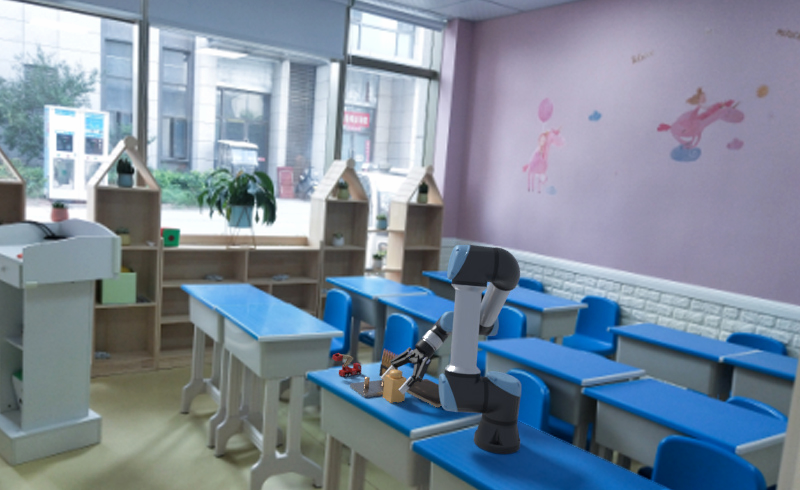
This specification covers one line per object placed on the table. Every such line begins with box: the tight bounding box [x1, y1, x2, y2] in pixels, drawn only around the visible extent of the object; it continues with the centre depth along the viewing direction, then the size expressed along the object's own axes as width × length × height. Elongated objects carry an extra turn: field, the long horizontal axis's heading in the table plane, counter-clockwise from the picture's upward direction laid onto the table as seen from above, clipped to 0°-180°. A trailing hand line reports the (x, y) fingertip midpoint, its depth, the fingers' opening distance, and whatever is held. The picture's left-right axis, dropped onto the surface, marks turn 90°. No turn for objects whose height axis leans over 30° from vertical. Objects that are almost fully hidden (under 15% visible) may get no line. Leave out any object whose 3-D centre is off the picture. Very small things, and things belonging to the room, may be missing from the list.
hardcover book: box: [405, 378, 442, 408], centre depth 242 cm, size 16×23×2 cm
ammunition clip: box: [379, 348, 399, 377], centre depth 255 cm, size 11×2×12 cm, turn 37°
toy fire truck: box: [331, 352, 363, 378], centre depth 255 cm, size 3×14×10 cm, turn 130°
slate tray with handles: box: [349, 376, 384, 398], centre depth 240 cm, size 12×16×6 cm
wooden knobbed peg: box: [382, 369, 407, 404], centre depth 232 cm, size 6×6×11 cm
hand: (391, 386), depth 232 cm, fingers open, 13 cm apart
